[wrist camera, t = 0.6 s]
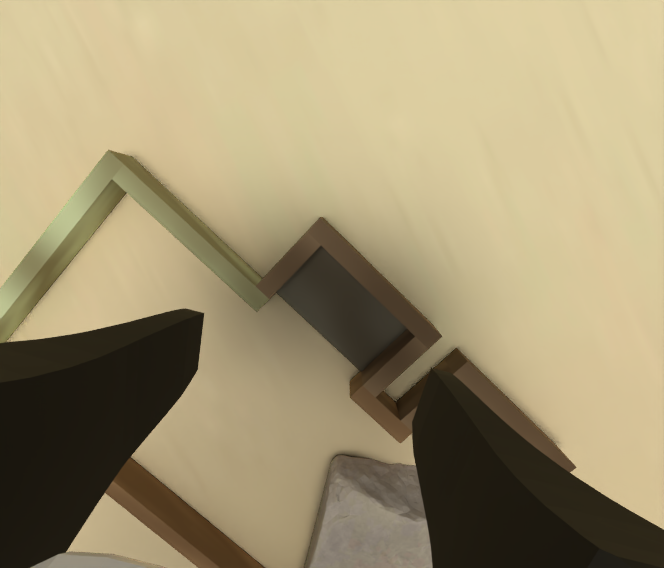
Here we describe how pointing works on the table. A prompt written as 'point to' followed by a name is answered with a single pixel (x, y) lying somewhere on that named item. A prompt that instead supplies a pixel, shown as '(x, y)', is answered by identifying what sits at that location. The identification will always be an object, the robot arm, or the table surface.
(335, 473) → the stone block
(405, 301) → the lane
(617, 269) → the table surface
